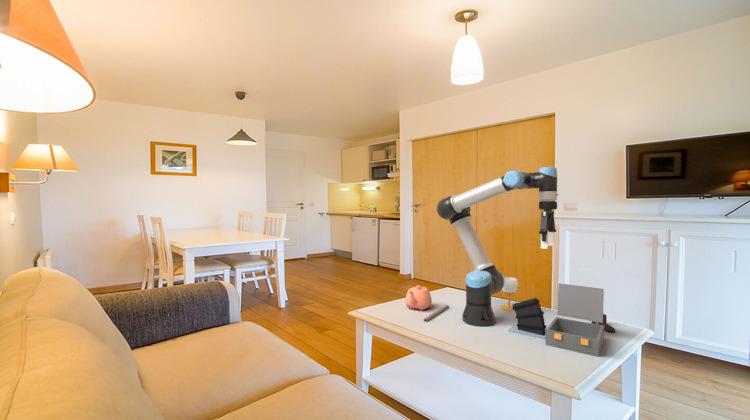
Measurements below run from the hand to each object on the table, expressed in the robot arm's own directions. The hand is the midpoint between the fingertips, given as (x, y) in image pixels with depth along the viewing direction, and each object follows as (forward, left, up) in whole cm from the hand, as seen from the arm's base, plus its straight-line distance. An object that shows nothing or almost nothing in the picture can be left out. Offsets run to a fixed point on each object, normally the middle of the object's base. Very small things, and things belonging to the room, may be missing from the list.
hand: (547, 247), depth 158 cm
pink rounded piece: (-62, -12, -37) cm, 73 cm away
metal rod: (-49, -15, -37) cm, 63 cm away
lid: (+13, -1, -23) cm, 26 cm away
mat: (-5, -13, -37) cm, 39 cm away
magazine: (-5, -13, -36) cm, 39 cm away
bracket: (+20, +14, -37) cm, 45 cm away
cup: (-23, +19, -37) cm, 47 cm away
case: (+13, -11, -37) cm, 40 cm away
